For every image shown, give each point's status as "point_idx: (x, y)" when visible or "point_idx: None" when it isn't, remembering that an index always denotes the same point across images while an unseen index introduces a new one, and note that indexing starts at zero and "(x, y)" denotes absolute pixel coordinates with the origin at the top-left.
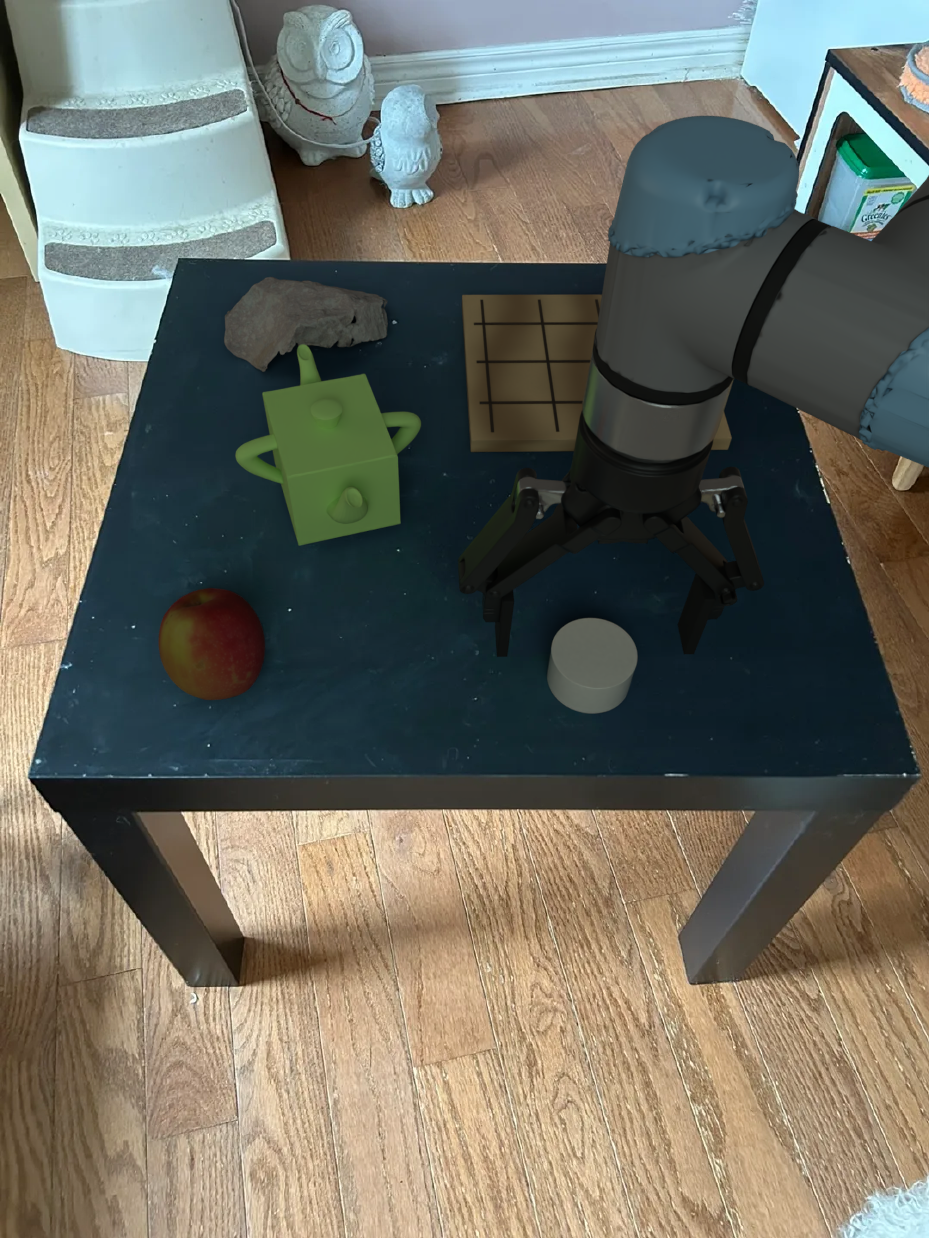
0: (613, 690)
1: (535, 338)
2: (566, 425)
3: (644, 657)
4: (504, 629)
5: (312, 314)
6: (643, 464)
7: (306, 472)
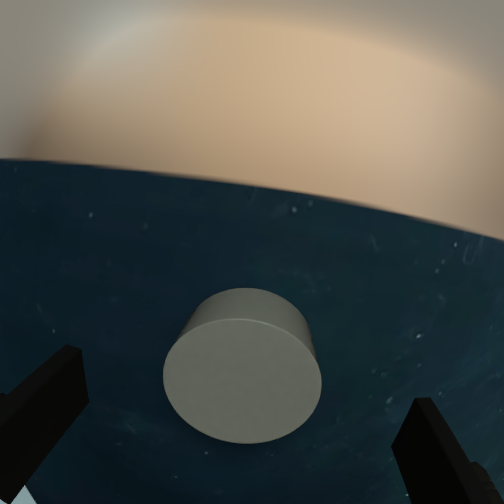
0: (221, 313)
1: None
2: None
3: (156, 362)
4: (457, 454)
5: None
6: None
7: None
